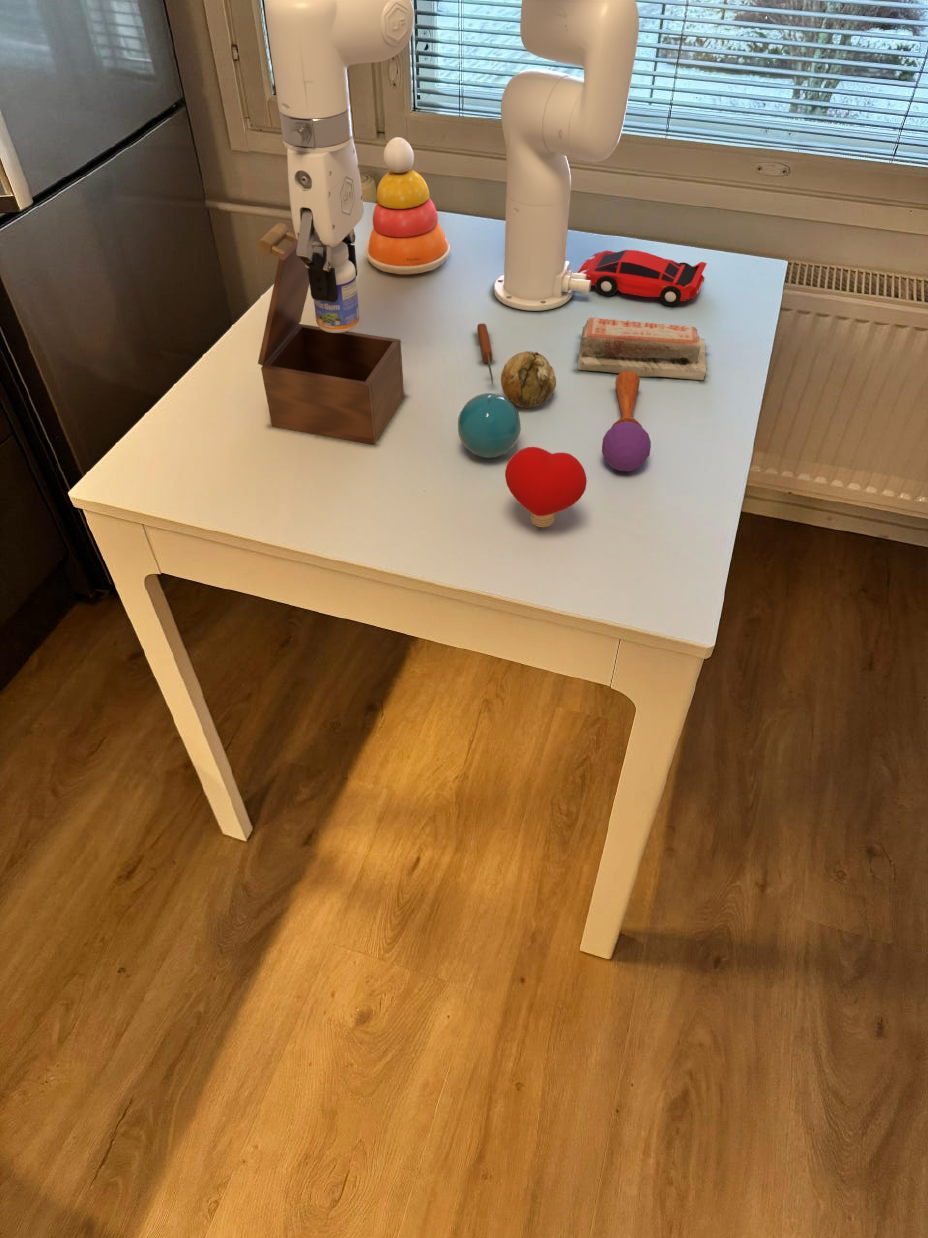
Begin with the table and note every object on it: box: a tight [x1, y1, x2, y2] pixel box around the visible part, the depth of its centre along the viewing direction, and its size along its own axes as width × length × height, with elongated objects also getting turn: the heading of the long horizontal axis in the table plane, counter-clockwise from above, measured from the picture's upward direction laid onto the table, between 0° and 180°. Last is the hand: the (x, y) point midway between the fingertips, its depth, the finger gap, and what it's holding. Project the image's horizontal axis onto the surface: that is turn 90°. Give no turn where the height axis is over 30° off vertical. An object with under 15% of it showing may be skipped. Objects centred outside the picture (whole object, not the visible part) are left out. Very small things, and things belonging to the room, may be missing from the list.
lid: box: [256, 222, 320, 367], centre depth 113 cm, size 15×12×5 cm
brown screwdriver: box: [477, 323, 494, 385], centre depth 132 cm, size 16×1×2 cm, turn 5°
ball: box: [457, 392, 522, 459], centre depth 114 cm, size 8×8×8 cm
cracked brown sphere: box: [500, 350, 557, 409], centre depth 123 cm, size 8×8×8 cm
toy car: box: [577, 249, 708, 307], centre depth 146 cm, size 10×20×5 cm, turn 72°
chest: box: [260, 323, 405, 446], centre depth 121 cm, size 15×12×9 cm
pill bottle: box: [313, 241, 360, 333], centre depth 110 cm, size 5×5×10 cm
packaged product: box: [577, 316, 707, 381], centre depth 131 cm, size 18×5×10 cm
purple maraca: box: [601, 371, 652, 472], centre depth 118 cm, size 6×6×20 cm
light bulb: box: [504, 446, 588, 528], centre depth 104 cm, size 9×7×10 cm
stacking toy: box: [365, 136, 451, 275], centre depth 147 cm, size 14×14×20 cm
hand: (334, 286), depth 110 cm, fingers closed on pill bottle, 5 cm apart
